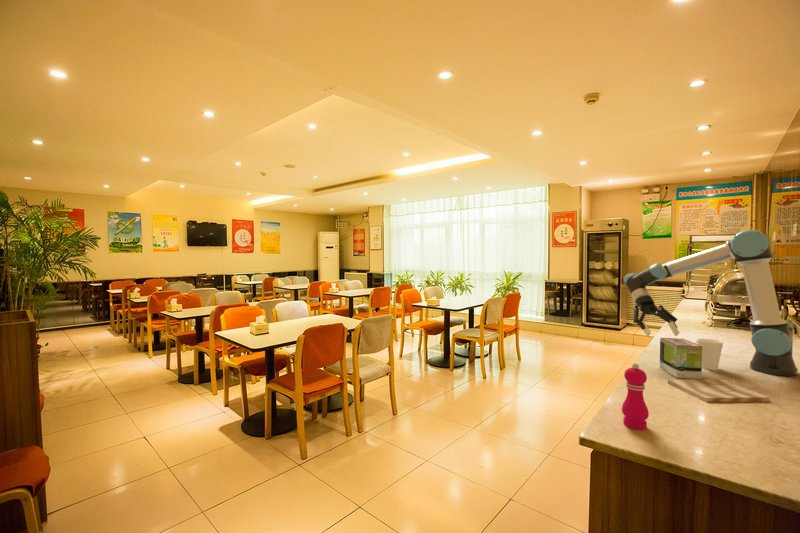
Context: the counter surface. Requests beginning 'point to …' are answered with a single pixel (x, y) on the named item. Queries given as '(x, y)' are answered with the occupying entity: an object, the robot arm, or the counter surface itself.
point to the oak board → (718, 390)
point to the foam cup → (710, 352)
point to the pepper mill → (635, 399)
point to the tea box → (681, 358)
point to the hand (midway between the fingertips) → (663, 334)
